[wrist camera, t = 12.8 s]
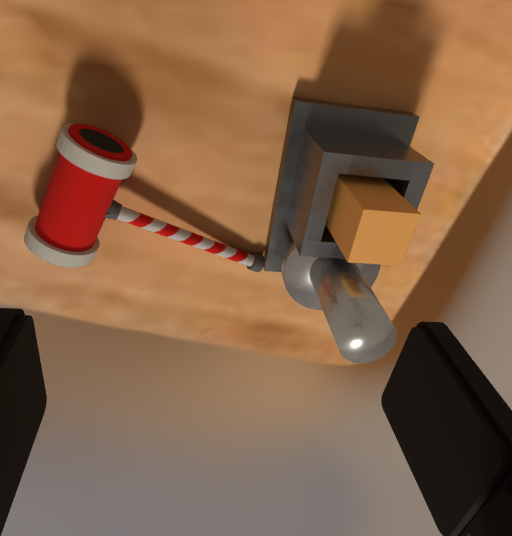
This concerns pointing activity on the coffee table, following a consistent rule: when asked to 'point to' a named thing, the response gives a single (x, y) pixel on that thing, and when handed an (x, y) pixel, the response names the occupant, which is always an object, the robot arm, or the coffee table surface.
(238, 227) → the coffee table surface
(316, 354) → the coffee table surface
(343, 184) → the orange rectangular block
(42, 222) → the toy hammer
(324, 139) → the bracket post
